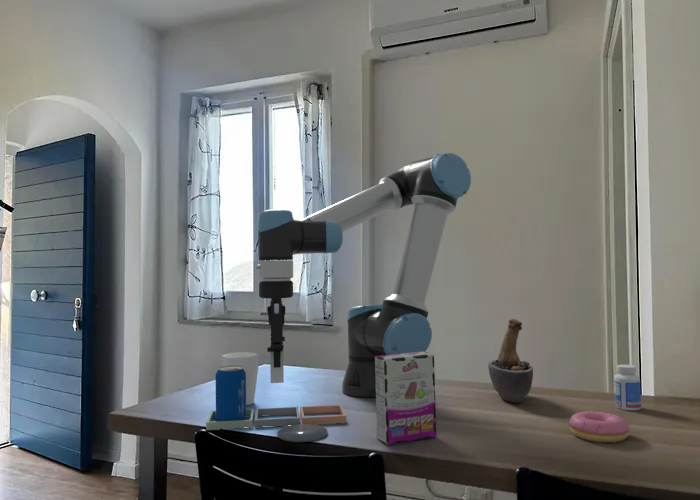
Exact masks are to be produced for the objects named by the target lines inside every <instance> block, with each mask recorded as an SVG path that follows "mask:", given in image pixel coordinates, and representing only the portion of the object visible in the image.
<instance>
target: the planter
mask: <svg viewBox="0 0 700 500" xmlns="http://www.w3.org/2000/svg"><path fill="white" fill-rule="evenodd" d="M522 325H523V323H522V321H520V320H518V319H516V318H513V319H512V318H511V319H508V325H507V326H508V327H507V329H506V331H505V334H504V337H503V339H502V343H501V346H500V351H499V353H498V357H497V359H494V360H491V361H489V362H488V374H489V377H490V380H491V383H492V386H493V389H494V391H496V392H497V393H498V395H499V397H500V398H502V400H504V401H506V402H508V403H515V404H519V403H521V402H523V401H524V400H525V399H526V397H527V396H528V395H529V393H530V391H531V389H532V385H533V377H534V371H533V370H534V368H533V367H532V366H531V365H530V362H528V361H526V360H524V361H522V360H520V357H519V355H518V353H517V342H518V338H519V334H520V331H521V330H522V329H523V326H522Z"/></svg>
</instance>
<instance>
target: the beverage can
mask: <svg viewBox="0 0 700 500" xmlns="http://www.w3.org/2000/svg"><path fill="white" fill-rule="evenodd" d="M246 409H247V406H246V372H245V371H244V367H243V366H238V365H230V366H222V365H221V366H219V367H217V371H216V372H215V411H216V418H215V422H216V421H237V420H247V417H246Z"/></svg>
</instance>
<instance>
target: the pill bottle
mask: <svg viewBox="0 0 700 500" xmlns="http://www.w3.org/2000/svg"><path fill="white" fill-rule="evenodd" d="M616 371H617V374H615V375H614V377H613V378H614V401H615V402H614V404H615V407H616V408H617V409H619V410H623V411H640V410H641V409H642V395H641V379H640V376H638V375H636V373H637V366H636V365H632V364H617V365H616Z"/></svg>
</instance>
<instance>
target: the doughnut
mask: <svg viewBox="0 0 700 500" xmlns="http://www.w3.org/2000/svg"><path fill="white" fill-rule="evenodd" d="M568 426H569V430H570V431H571V432H572V434H573V435H575V436H576V437H577V438H580V439H582V440H585V439H586V441H589V440H590V442H594V441H595V443H602V442H605V444H606V442H609V443H608V444H610V442H614V443H619V442H622V441H624V440H626V439H627V438H628V437H629V432H630V429H631V428H630V426H629V424H628V422H627V421H626V420H625V419H624V418H623V417H621V416H619V415H616V414H613V413H611V412H610V413H609V412H607V411H605V412H603V411H594V410H593V411H591V410H587V411H586V410H584V411H579V412H576V413H575V414H572V415H571V416H570V418H569V420H568Z"/></svg>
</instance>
